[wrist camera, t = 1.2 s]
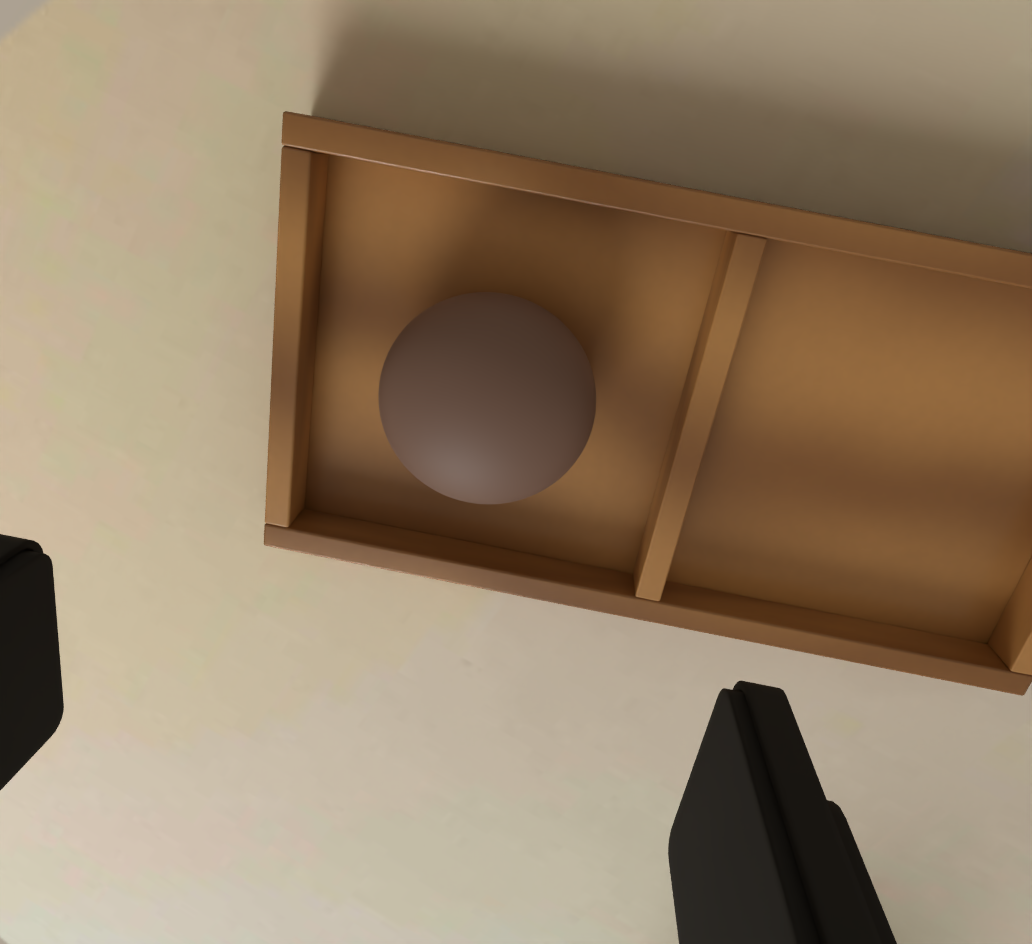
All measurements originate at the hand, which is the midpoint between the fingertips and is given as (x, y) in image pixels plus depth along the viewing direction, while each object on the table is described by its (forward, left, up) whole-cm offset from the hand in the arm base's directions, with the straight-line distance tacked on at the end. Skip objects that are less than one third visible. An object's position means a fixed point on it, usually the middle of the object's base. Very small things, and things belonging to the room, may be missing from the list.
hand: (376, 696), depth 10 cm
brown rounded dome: (-1, 0, -14) cm, 14 cm away
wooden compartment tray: (-1, +6, -14) cm, 15 cm away
